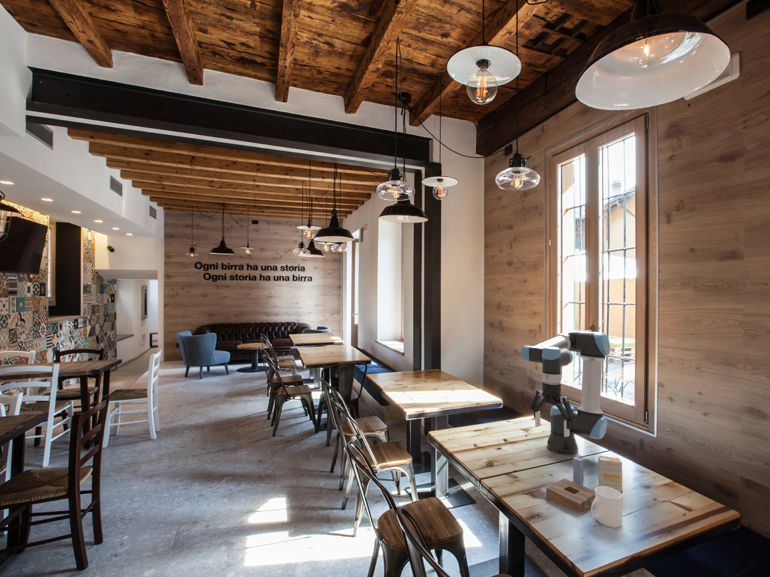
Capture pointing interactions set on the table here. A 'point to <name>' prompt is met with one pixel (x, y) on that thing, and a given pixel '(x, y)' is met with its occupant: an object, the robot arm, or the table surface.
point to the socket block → (571, 495)
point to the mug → (607, 506)
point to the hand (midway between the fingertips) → (551, 431)
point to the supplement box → (610, 472)
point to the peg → (578, 471)
